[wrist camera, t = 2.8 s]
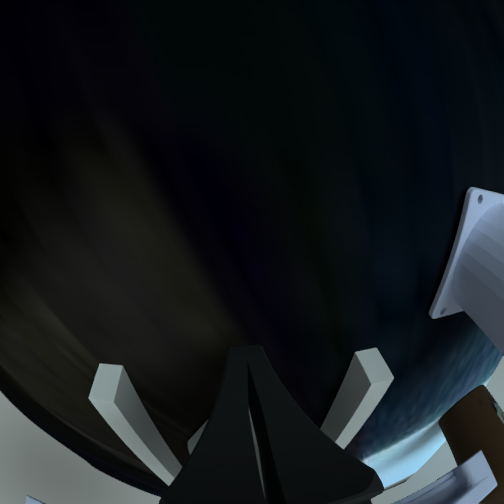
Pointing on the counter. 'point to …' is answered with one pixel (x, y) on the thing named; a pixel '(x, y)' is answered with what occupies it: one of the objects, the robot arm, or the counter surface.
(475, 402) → the olive oil
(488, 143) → the counter surface
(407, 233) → the counter surface
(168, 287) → the counter surface
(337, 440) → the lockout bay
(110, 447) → the counter surface
